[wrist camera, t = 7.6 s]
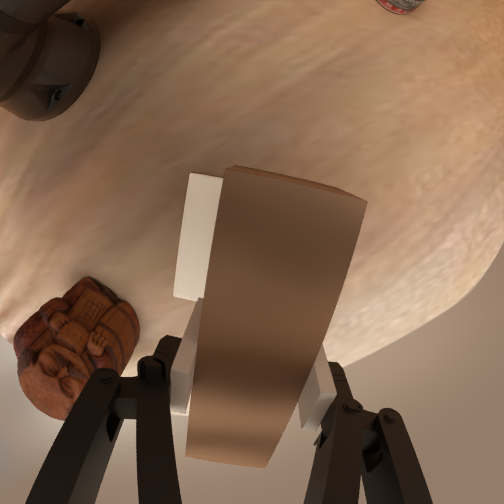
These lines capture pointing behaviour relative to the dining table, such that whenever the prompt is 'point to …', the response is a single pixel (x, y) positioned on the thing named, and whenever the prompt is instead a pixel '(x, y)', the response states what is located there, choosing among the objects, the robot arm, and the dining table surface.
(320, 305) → the bar
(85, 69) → the robot arm
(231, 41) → the dining table surface
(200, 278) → the fulcrum
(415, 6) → the pill bottle
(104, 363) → the wooden figurine
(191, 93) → the dining table surface
